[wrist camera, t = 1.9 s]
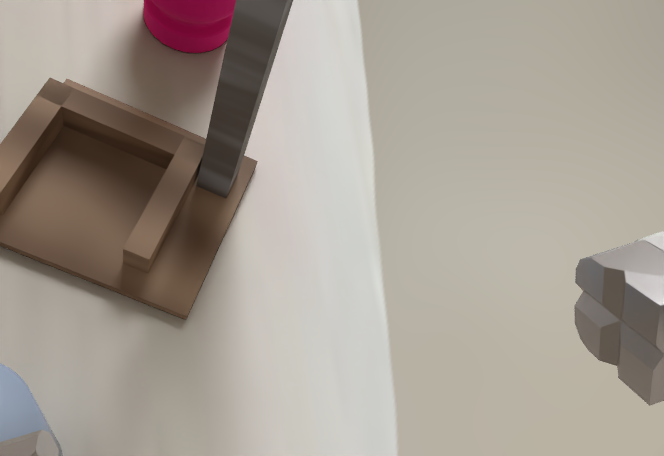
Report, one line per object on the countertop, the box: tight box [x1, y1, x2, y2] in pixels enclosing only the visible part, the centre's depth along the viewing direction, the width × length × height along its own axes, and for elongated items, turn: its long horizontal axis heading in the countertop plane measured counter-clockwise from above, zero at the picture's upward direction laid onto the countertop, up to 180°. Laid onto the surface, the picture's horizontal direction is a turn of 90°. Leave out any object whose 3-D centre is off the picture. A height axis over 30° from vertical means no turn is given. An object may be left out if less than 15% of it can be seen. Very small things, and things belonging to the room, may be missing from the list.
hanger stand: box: [0, 0, 293, 320], centre depth 29 cm, size 12×13×23 cm
